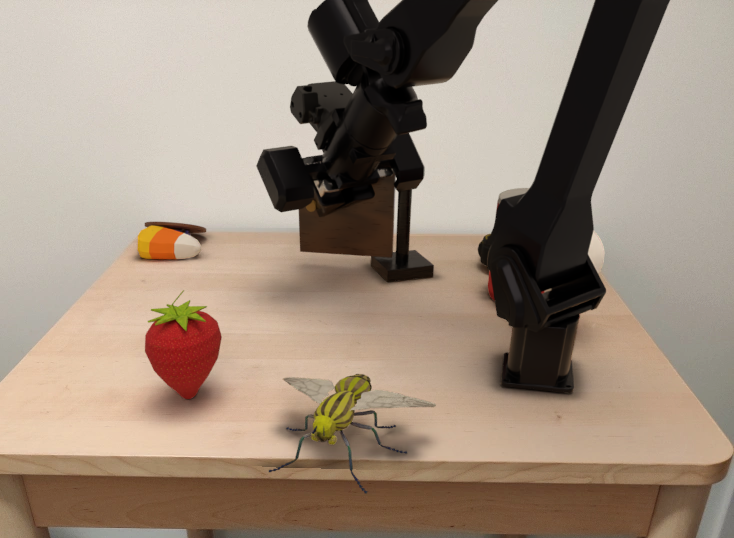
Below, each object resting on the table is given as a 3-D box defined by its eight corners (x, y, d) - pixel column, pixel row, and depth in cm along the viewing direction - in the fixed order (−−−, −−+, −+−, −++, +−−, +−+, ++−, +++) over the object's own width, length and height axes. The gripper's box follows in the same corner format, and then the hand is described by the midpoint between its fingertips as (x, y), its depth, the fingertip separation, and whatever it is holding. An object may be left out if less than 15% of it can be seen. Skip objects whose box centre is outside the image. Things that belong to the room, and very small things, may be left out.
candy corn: (133, 261, 95) (193, 270, 94) (130, 239, 93) (191, 247, 92) (152, 242, 100) (210, 250, 99) (149, 220, 98) (208, 228, 97)
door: (392, 255, 92) (396, 168, 86) (391, 259, 91) (394, 172, 85) (301, 249, 94) (298, 163, 88) (298, 253, 92) (295, 167, 86)
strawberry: (240, 384, 68) (231, 277, 63) (199, 424, 63) (184, 310, 57) (183, 374, 70) (169, 268, 64) (138, 411, 64) (117, 299, 58)
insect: (439, 425, 63) (444, 371, 60) (399, 502, 54) (402, 445, 51) (295, 397, 66) (292, 345, 63) (237, 466, 58) (231, 410, 55)
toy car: (136, 220, 97) (136, 232, 97) (198, 223, 97) (197, 236, 97) (155, 228, 105) (155, 239, 105) (212, 231, 104) (212, 243, 105)
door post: (414, 261, 96) (420, 160, 89) (433, 277, 91) (440, 172, 84) (370, 266, 94) (372, 164, 87) (387, 282, 90) (391, 176, 83)
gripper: (413, 48, 80) (359, 144, 94) (255, 60, 72) (221, 163, 86) (455, 140, 79) (393, 223, 93) (300, 163, 71) (258, 250, 85)
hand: (319, 213), depth 89 cm, fingers closed
